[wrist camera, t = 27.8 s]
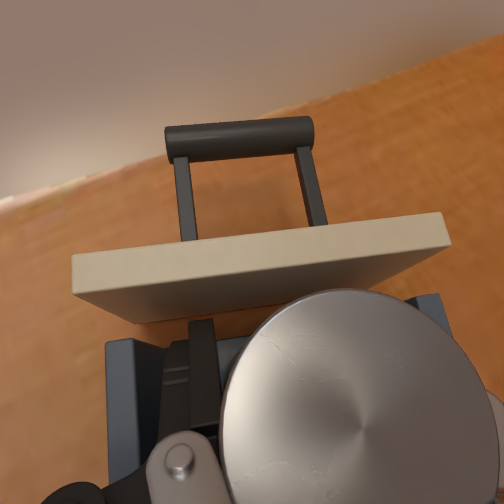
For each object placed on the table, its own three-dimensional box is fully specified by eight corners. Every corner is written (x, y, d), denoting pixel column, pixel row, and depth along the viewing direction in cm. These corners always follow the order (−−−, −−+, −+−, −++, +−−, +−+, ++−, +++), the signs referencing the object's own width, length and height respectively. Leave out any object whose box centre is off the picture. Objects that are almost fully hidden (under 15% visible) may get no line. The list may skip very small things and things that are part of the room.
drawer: (126, 191, 19) (69, 88, 12) (334, 171, 20) (393, 67, 13) (154, 690, 13) (73, 1077, 6) (443, 614, 14) (657, 852, 7)
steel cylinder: (228, 460, 13) (240, 648, 4) (214, 344, 15) (201, 306, 6) (337, 439, 14) (547, 569, 5) (315, 328, 15) (449, 272, 6)
